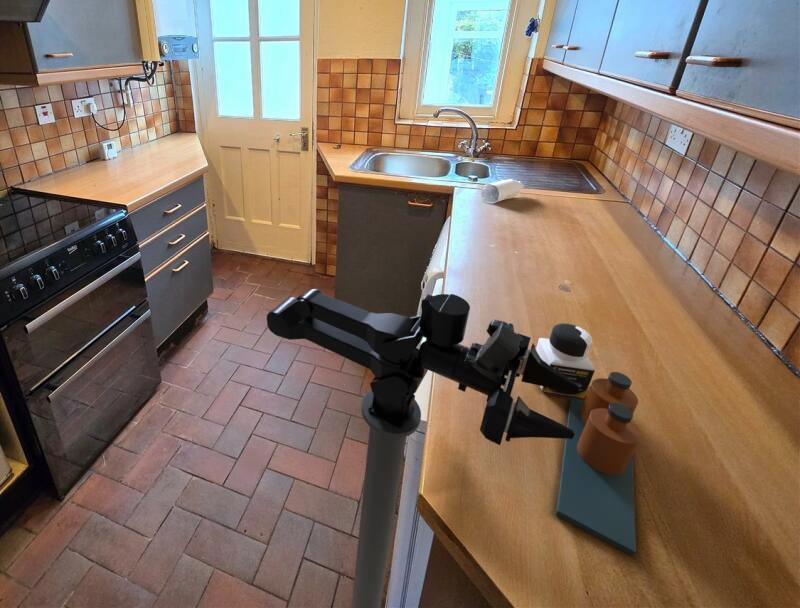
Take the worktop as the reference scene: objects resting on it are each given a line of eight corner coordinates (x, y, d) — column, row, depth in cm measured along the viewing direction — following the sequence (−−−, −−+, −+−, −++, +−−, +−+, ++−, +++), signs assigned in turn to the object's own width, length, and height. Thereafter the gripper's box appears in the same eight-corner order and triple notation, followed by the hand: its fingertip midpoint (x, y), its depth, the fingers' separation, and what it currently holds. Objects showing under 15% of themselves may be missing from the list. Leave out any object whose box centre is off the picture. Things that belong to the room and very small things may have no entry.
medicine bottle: (541, 392, 75) (558, 341, 70) (530, 364, 82) (544, 316, 77) (584, 399, 74) (605, 347, 69) (569, 370, 80) (587, 321, 75)
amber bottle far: (578, 426, 68) (596, 381, 63) (581, 402, 72) (598, 359, 68) (624, 445, 64) (646, 399, 60) (623, 419, 69) (644, 374, 65)
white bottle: (526, 198, 167) (531, 179, 164) (496, 206, 159) (500, 187, 156) (509, 192, 173) (513, 174, 170) (479, 199, 166) (482, 181, 162)
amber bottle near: (575, 460, 62) (595, 414, 58) (578, 432, 66) (596, 387, 62) (624, 483, 59) (649, 435, 55) (624, 452, 63) (646, 406, 59)
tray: (555, 514, 56) (557, 510, 56) (569, 400, 74) (571, 396, 73) (633, 556, 51) (636, 552, 51) (628, 424, 69) (630, 420, 68)
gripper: (448, 357, 54) (590, 415, 45) (482, 292, 67) (596, 328, 59) (436, 417, 58) (564, 480, 50) (470, 345, 72) (575, 385, 63)
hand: (576, 411), depth 55 cm, fingers open, 9 cm apart
